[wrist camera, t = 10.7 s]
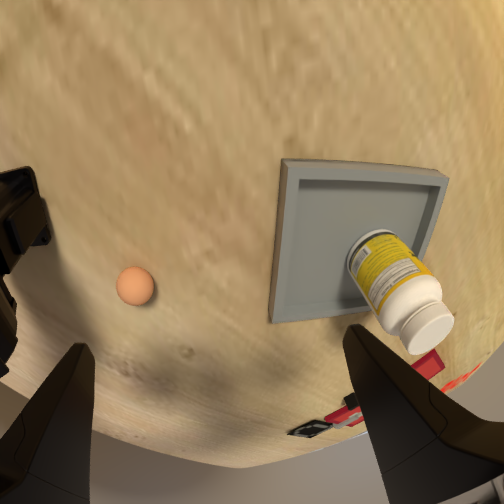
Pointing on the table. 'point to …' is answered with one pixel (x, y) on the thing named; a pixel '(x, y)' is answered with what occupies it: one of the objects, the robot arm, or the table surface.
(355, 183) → the tray
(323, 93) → the table surface
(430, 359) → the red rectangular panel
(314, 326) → the table surface
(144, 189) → the table surface
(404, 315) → the supplement bottle
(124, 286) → the orange ball
